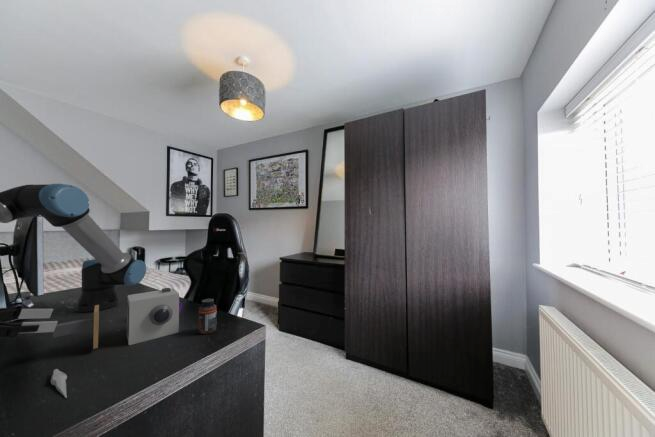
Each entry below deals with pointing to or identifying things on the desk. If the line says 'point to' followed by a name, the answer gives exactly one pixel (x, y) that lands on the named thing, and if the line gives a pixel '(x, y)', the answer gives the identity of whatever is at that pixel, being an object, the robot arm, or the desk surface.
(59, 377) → the grey tapered wedge
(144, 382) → the desk surface
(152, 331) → the camera body
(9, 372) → the desk surface
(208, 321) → the supplement bottle
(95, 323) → the door
